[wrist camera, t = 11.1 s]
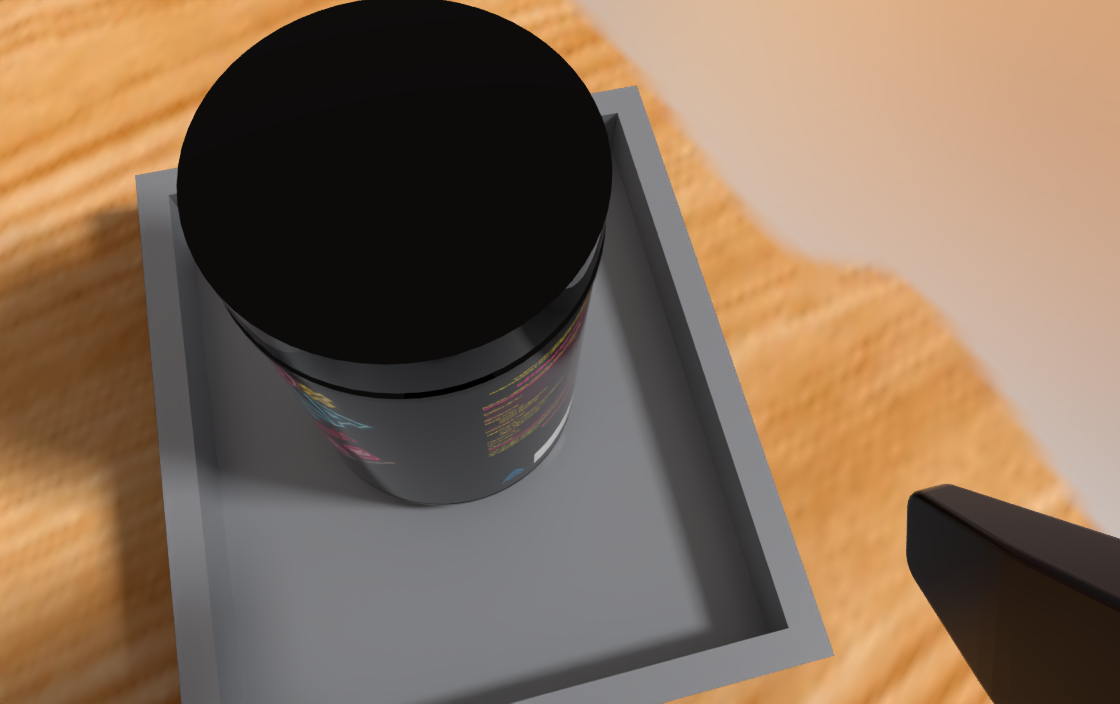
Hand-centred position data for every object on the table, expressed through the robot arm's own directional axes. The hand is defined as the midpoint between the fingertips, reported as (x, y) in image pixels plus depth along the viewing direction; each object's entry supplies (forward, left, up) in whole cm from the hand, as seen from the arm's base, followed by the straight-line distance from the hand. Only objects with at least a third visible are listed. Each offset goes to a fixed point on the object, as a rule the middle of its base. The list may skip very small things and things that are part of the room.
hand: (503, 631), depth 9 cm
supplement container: (+7, 0, -13) cm, 15 cm away
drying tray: (+6, 0, -14) cm, 15 cm away
